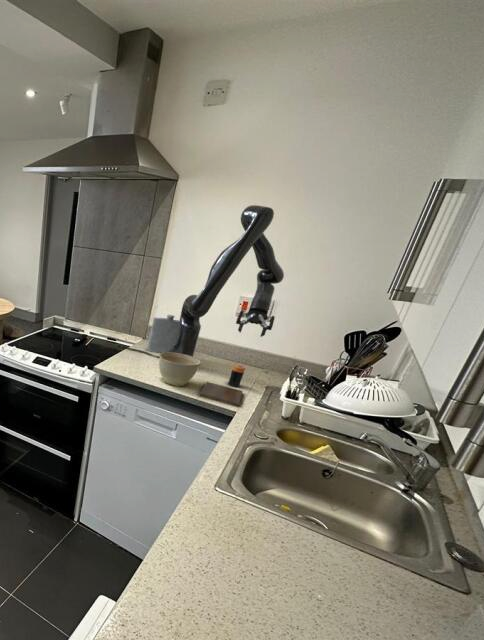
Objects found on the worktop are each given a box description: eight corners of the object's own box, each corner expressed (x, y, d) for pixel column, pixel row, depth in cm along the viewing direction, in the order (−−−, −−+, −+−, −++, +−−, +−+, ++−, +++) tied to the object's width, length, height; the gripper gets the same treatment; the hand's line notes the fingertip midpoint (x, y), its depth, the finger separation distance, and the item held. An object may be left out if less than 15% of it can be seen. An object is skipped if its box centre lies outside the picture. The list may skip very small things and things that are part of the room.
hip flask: (176, 353, 208) (186, 316, 200) (178, 355, 205) (187, 318, 197) (146, 348, 211) (154, 312, 203) (147, 351, 207) (155, 314, 199)
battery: (227, 385, 171) (233, 365, 167) (228, 382, 174) (234, 363, 171) (238, 388, 169) (245, 368, 165) (239, 385, 172) (246, 365, 168)
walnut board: (199, 395, 157) (200, 393, 157) (206, 384, 170) (206, 381, 169) (237, 406, 151) (238, 403, 150) (241, 393, 163) (242, 390, 163)
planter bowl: (201, 386, 167) (208, 362, 163) (176, 392, 159) (183, 367, 155) (170, 372, 180) (176, 350, 175) (146, 377, 172) (151, 354, 167)
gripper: (244, 296, 179) (234, 325, 174) (280, 302, 172) (270, 332, 168) (242, 306, 185) (232, 334, 181) (276, 312, 178) (267, 341, 174)
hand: (250, 333), depth 174 cm, fingers open, 8 cm apart
